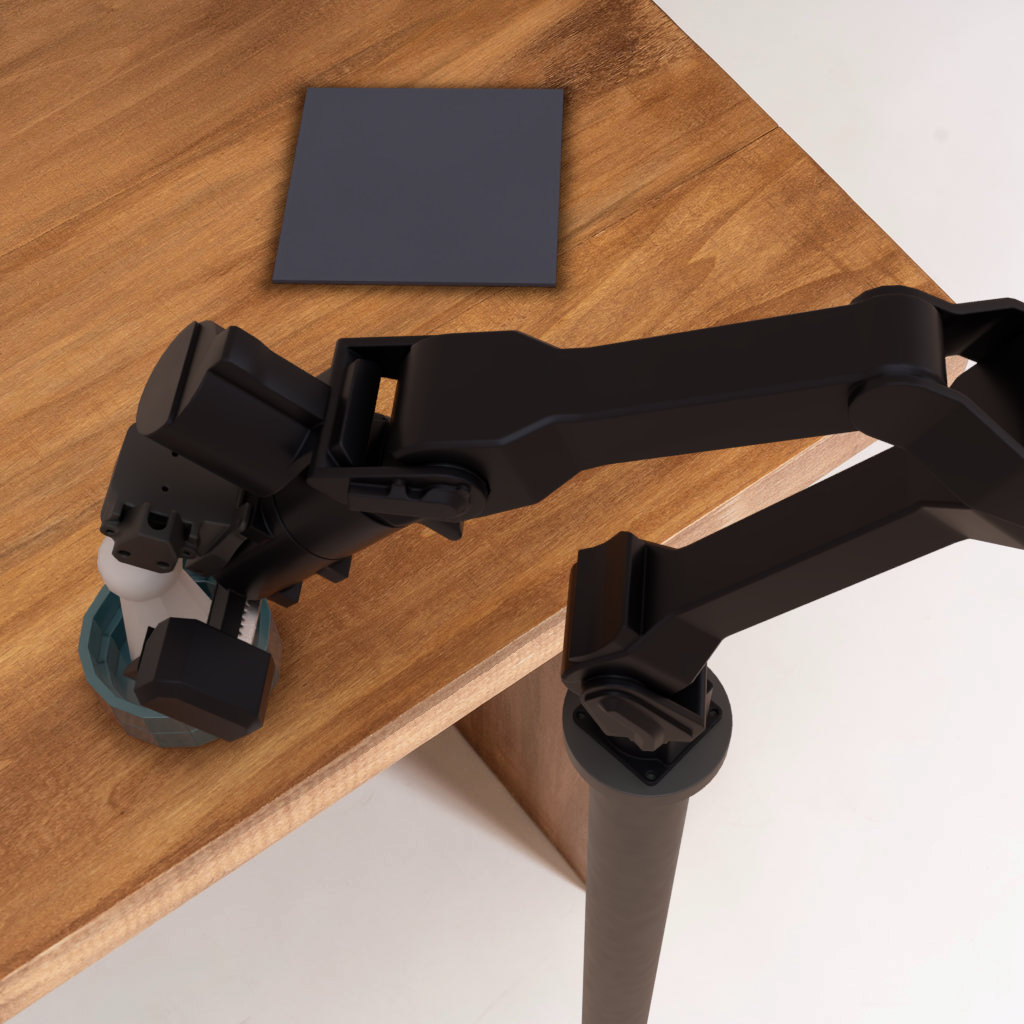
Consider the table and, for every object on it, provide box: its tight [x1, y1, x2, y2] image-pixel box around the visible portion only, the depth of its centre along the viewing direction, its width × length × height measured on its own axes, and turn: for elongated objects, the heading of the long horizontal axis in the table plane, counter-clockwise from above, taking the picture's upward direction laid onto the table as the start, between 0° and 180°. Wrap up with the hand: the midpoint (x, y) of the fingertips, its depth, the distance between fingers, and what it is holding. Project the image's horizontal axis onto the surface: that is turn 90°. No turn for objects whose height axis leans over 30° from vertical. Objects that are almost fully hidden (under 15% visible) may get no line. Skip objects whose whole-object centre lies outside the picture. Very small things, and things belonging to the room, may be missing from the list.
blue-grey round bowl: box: [77, 558, 283, 748], centre depth 83 cm, size 11×11×4 cm
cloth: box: [271, 87, 565, 288], centre depth 106 cm, size 20×20×1 cm
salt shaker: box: [96, 536, 212, 661], centre depth 79 cm, size 6×6×13 cm
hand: (151, 600), depth 79 cm, fingers open, 9 cm apart
